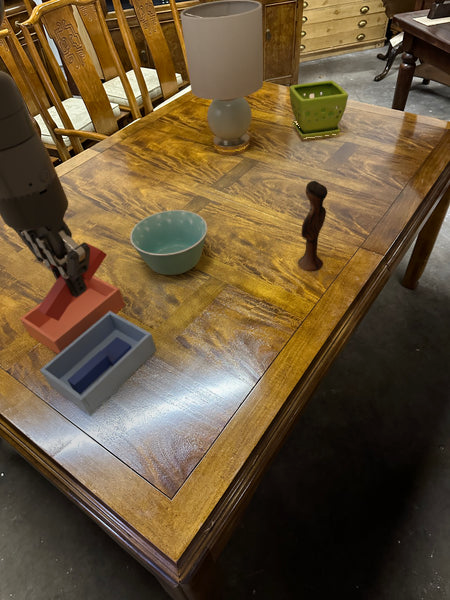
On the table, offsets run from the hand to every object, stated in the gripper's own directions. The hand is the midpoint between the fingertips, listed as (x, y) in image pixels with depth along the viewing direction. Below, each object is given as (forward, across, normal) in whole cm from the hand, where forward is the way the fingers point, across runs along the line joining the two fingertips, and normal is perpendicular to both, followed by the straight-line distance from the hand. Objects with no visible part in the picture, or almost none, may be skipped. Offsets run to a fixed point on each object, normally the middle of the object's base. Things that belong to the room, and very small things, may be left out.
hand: (74, 289), depth 58 cm
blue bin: (+18, -1, -1) cm, 18 cm away
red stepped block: (0, 0, +1) cm, 1 cm away
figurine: (+19, +16, +41) cm, 48 cm away
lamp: (+19, -31, +77) cm, 85 cm away
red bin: (+18, -14, +4) cm, 23 cm away
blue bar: (+18, -1, -1) cm, 18 cm away
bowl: (+19, -9, +27) cm, 34 cm away
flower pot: (+19, -13, +97) cm, 100 cm away
